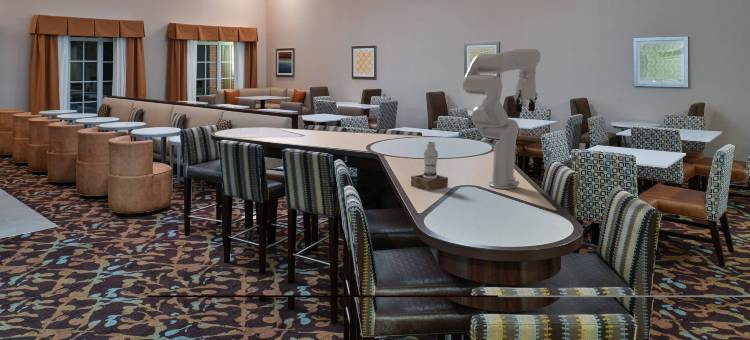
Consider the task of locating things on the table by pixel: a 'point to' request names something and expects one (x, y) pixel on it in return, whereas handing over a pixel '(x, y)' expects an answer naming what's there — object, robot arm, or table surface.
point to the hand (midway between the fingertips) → (525, 111)
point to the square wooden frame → (429, 182)
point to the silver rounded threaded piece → (430, 161)
